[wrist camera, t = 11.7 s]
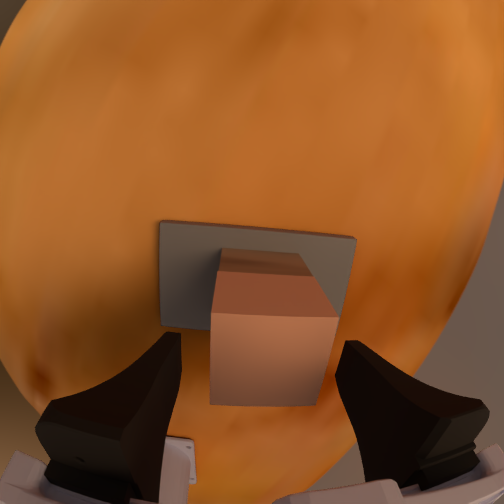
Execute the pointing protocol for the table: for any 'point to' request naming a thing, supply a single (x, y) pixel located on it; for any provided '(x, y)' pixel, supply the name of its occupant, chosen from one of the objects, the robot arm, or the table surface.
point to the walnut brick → (262, 262)
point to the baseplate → (238, 237)
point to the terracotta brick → (269, 339)
